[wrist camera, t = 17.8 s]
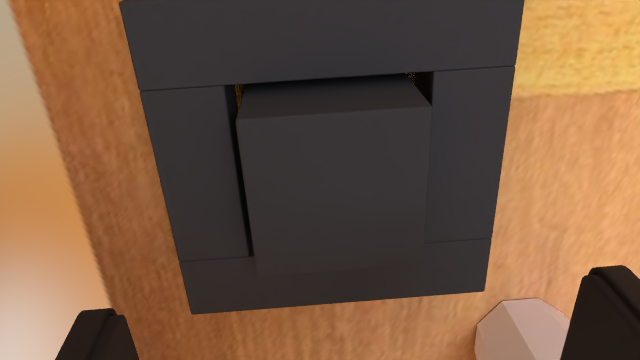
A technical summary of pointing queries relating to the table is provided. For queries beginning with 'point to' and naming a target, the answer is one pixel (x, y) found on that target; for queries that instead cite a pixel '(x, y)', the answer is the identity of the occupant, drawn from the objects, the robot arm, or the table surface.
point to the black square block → (335, 172)
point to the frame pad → (319, 63)
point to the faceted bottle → (521, 332)
